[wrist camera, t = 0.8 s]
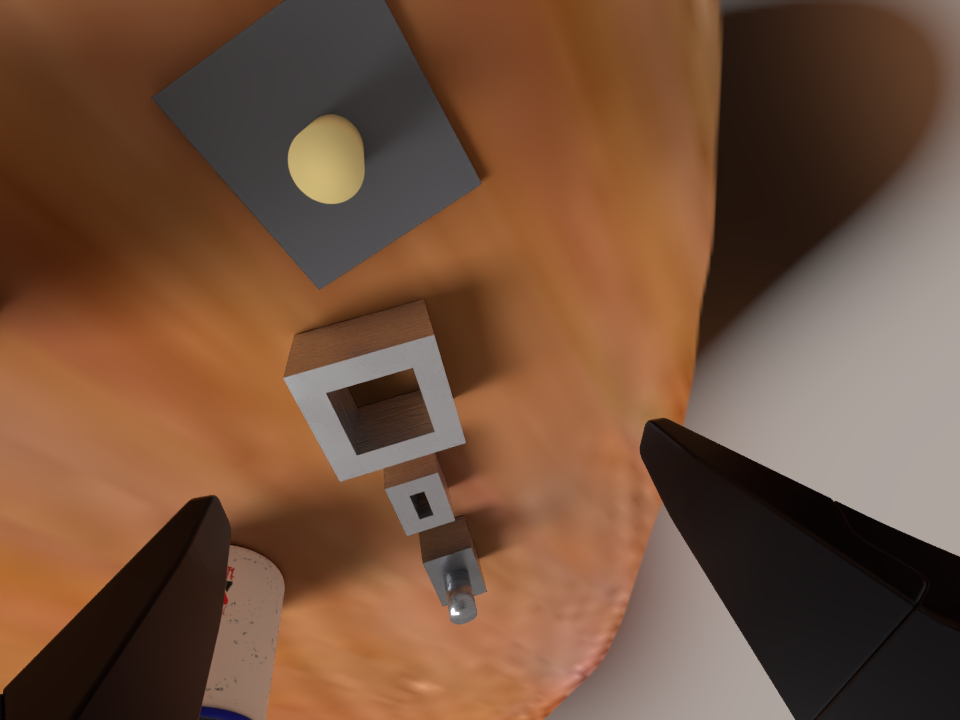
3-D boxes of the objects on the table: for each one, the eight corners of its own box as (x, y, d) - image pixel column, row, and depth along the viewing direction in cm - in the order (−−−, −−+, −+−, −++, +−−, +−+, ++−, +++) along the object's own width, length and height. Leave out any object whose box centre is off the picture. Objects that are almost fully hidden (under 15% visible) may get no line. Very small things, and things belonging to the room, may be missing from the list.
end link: (453, 399, 24) (466, 443, 21) (342, 432, 24) (340, 481, 21) (423, 299, 21) (434, 334, 18) (294, 335, 20) (283, 378, 17)
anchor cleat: (478, 559, 32) (495, 628, 28) (437, 573, 32) (448, 644, 28) (463, 515, 29) (480, 584, 25) (418, 529, 29) (427, 602, 25)
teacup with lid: (241, 515, 25) (166, 790, 15) (315, 598, 30) (293, 844, 20) (25, 591, 24) (-195, 927, 15) (137, 663, 29) (28, 948, 20)
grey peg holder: (319, 285, 19) (308, 344, 15) (157, 97, 15) (73, 104, 11) (479, 181, 19) (515, 212, 14) (356, -49, 14) (355, -106, 10)
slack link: (448, 488, 27) (455, 520, 25) (403, 502, 27) (407, 536, 25) (431, 441, 25) (437, 472, 23) (382, 456, 25) (384, 489, 23)
